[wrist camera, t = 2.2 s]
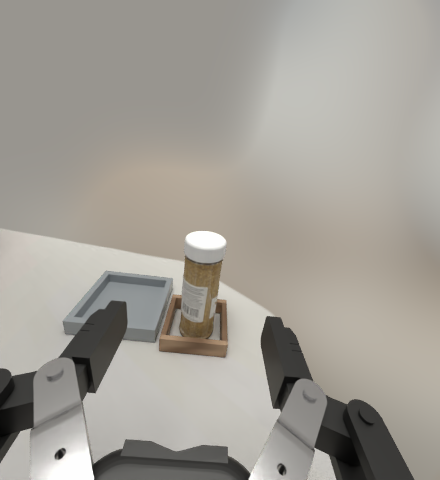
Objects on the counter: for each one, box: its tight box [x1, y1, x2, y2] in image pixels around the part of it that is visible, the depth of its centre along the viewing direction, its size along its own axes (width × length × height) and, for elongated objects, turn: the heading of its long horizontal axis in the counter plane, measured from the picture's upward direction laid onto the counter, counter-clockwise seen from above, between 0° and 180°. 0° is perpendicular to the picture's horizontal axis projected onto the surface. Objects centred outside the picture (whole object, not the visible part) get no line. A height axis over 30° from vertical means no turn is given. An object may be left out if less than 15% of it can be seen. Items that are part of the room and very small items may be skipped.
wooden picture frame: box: [159, 295, 228, 357], centre depth 29 cm, size 8×8×2 cm
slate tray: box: [63, 271, 173, 342], centre depth 31 cm, size 11×11×2 cm
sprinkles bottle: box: [179, 231, 226, 339], centre depth 27 cm, size 5×5×14 cm
